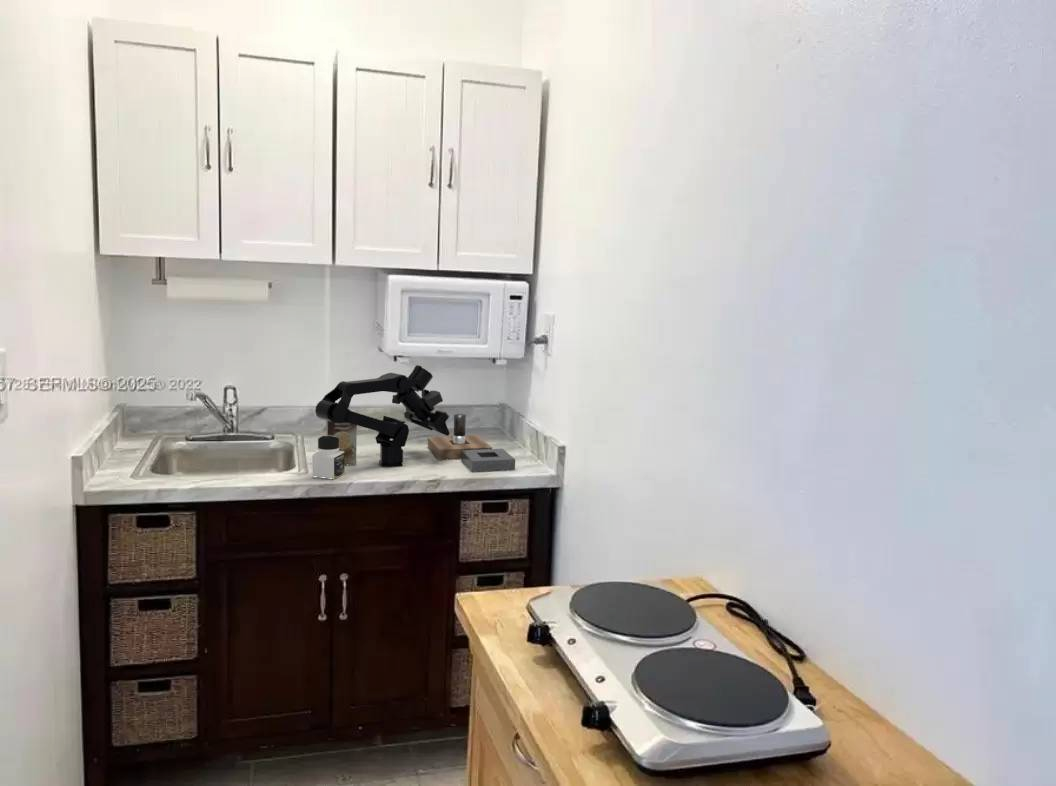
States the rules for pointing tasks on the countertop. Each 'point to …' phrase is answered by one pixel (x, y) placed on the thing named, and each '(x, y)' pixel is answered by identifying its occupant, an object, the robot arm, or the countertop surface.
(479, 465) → the socket block
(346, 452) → the coffee box
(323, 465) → the medicine bottle
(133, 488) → the countertop surface
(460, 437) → the dark rounded cylinder
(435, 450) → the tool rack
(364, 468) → the countertop surface
